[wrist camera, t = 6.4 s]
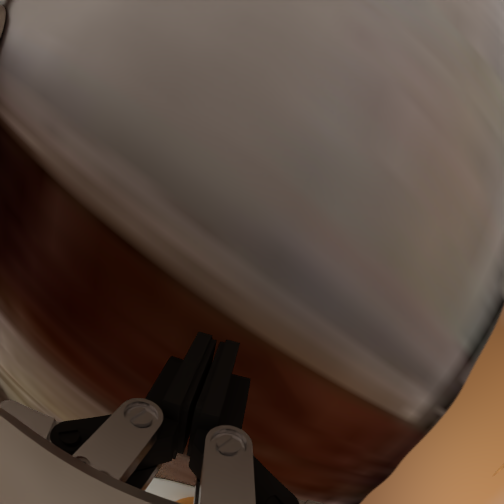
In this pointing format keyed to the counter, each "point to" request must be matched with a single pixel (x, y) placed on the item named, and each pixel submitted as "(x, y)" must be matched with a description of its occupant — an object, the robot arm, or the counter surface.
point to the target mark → (170, 489)
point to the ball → (186, 500)
